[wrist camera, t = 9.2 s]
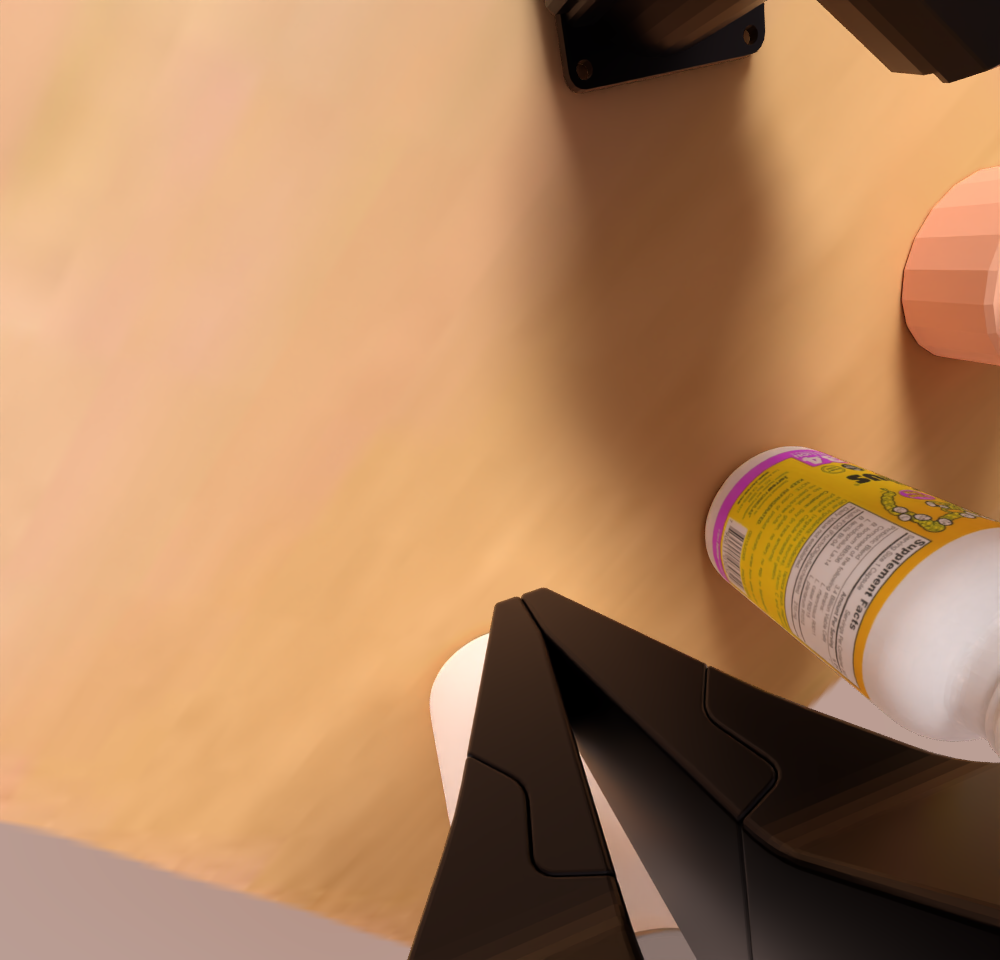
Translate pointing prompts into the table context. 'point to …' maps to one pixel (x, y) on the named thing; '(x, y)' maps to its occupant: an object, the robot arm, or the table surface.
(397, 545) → the table surface
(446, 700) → the can
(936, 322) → the salt shaker
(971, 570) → the supplement bottle
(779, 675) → the table surface
